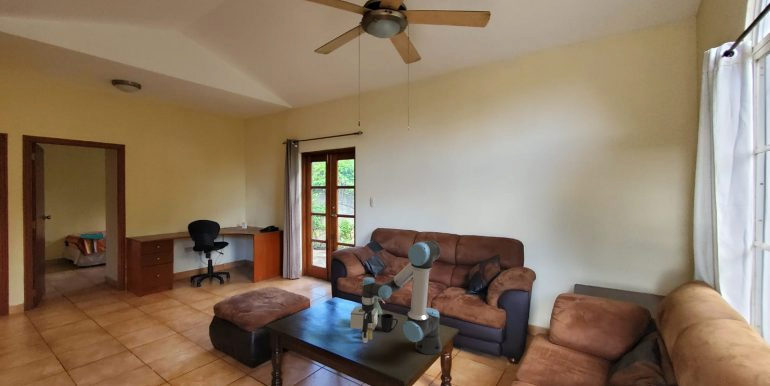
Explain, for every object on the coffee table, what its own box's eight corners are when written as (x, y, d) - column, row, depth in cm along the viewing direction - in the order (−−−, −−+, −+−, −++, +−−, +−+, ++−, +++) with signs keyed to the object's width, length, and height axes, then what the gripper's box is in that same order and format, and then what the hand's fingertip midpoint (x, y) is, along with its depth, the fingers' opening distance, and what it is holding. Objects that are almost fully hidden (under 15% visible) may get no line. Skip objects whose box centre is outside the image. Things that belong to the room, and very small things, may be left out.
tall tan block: (372, 337, 202) (372, 328, 202) (371, 339, 199) (371, 330, 199) (363, 336, 203) (363, 327, 203) (361, 338, 200) (362, 329, 200)
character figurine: (362, 315, 236) (363, 291, 236) (367, 311, 244) (368, 288, 243) (382, 319, 229) (382, 294, 229) (386, 315, 237) (387, 291, 237)
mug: (393, 335, 205) (394, 320, 205) (378, 331, 211) (378, 316, 211) (400, 331, 212) (400, 316, 212) (384, 326, 218) (385, 312, 218)
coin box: (377, 322, 224) (377, 308, 224) (373, 330, 212) (374, 315, 212) (354, 320, 227) (355, 306, 226) (350, 328, 215) (350, 313, 215)
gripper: (366, 296, 213) (365, 329, 213) (357, 309, 189) (356, 346, 190) (377, 297, 211) (376, 330, 212) (370, 310, 188) (369, 347, 188)
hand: (367, 337), depth 201 cm, fingers open, 11 cm apart
